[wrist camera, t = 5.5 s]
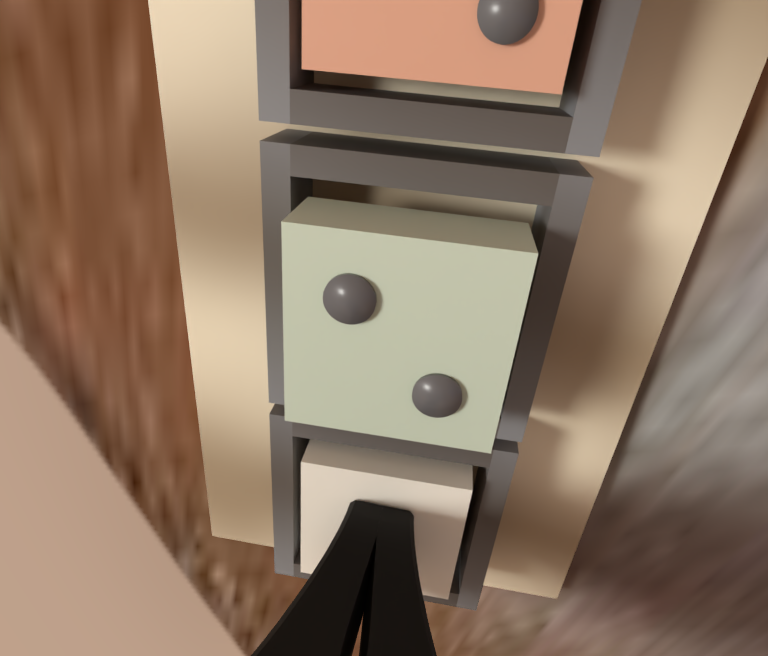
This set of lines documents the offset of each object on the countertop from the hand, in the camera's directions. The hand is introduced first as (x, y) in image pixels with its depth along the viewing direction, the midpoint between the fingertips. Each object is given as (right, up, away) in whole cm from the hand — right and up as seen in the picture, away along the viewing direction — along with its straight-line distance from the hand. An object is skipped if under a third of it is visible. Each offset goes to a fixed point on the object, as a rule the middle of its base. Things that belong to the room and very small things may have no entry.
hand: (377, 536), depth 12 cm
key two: (+1, +5, -2) cm, 6 cm away
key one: (0, +1, +1) cm, 1 cm away
